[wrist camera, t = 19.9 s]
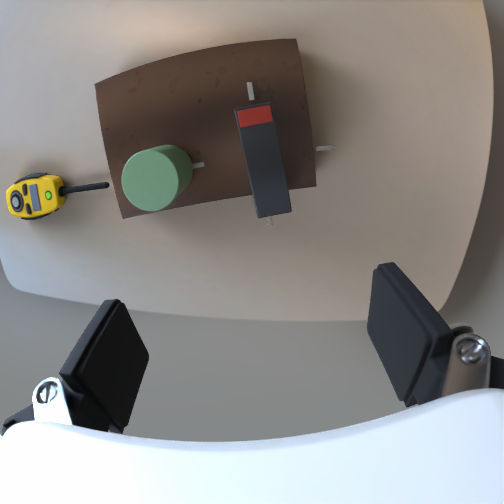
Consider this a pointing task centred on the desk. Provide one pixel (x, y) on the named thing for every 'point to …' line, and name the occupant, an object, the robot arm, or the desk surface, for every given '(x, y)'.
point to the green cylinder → (156, 176)
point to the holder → (263, 159)
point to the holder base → (208, 116)
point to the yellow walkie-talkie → (41, 195)
